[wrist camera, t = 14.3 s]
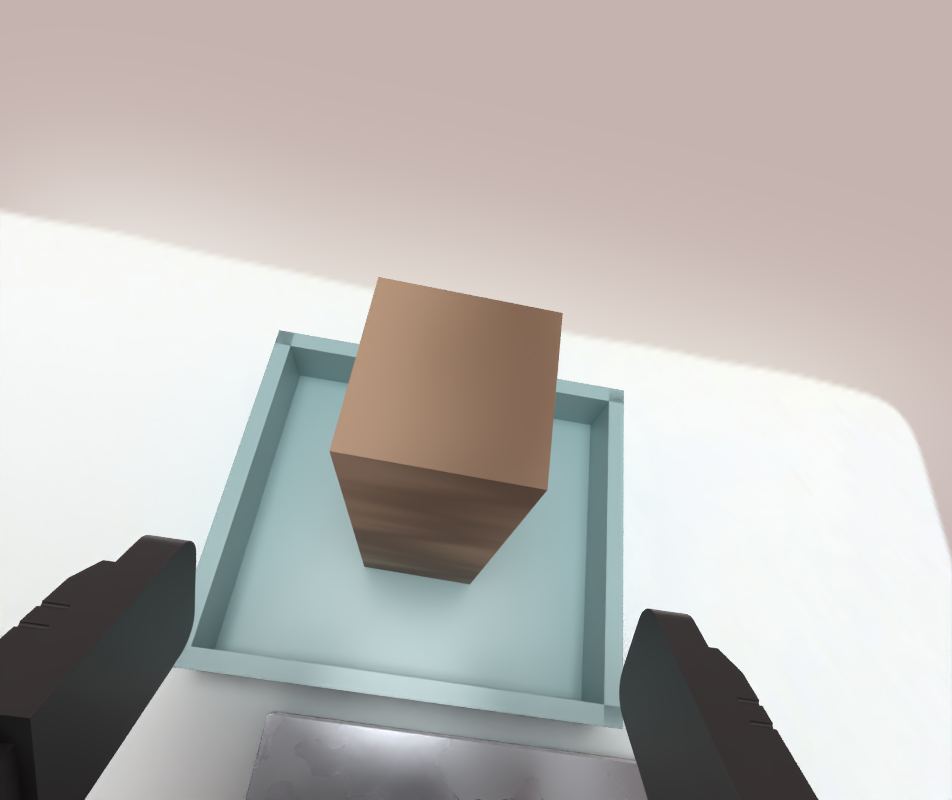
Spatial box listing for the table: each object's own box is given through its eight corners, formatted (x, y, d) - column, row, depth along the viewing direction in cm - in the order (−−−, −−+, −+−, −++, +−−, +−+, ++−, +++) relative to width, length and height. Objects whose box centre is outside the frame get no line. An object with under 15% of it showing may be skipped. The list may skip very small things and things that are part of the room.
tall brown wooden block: (364, 566, 21) (329, 450, 10) (387, 466, 22) (378, 277, 12) (469, 584, 21) (547, 489, 10) (484, 483, 23) (562, 313, 12)
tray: (196, 666, 19) (163, 665, 16) (292, 367, 24) (279, 330, 22) (592, 721, 20) (622, 729, 17) (599, 420, 25) (623, 390, 23)
